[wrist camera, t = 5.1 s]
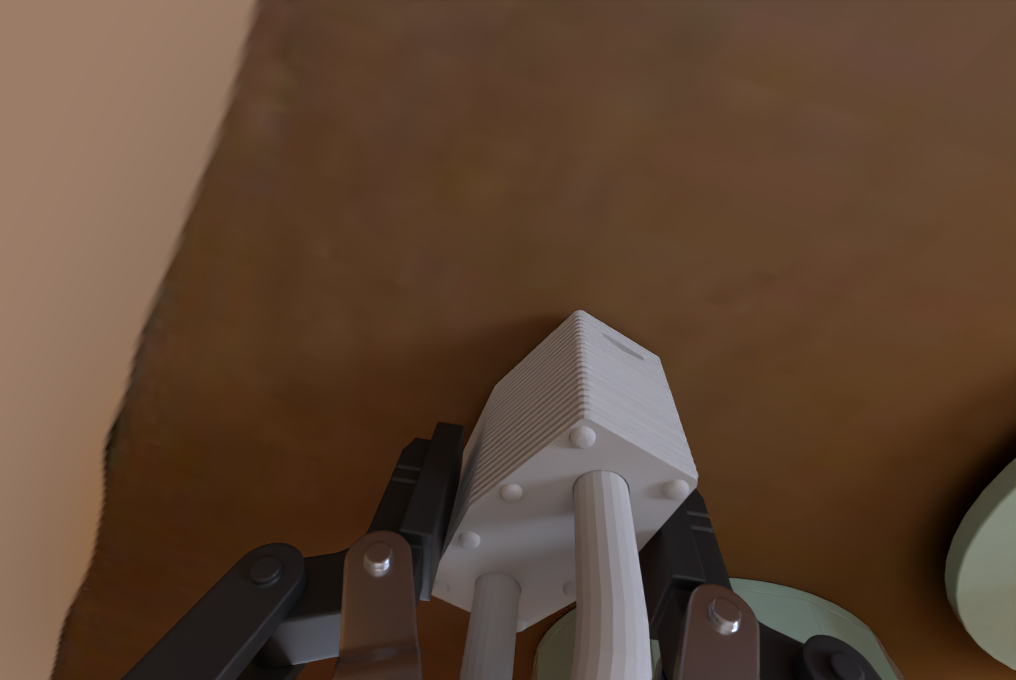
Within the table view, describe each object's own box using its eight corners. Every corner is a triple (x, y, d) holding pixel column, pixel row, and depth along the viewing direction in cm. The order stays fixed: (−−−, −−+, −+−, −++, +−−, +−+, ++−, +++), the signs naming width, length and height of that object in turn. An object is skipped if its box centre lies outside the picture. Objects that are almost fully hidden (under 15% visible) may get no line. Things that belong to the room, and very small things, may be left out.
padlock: (560, 292, 13) (553, 731, 4) (676, 363, 14) (868, 862, 5) (444, 450, 16) (307, 878, 8) (541, 501, 17) (518, 945, 8)
